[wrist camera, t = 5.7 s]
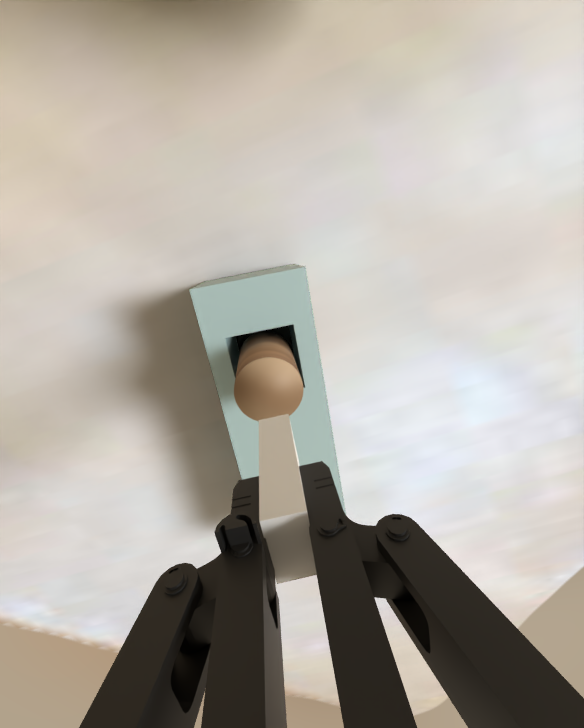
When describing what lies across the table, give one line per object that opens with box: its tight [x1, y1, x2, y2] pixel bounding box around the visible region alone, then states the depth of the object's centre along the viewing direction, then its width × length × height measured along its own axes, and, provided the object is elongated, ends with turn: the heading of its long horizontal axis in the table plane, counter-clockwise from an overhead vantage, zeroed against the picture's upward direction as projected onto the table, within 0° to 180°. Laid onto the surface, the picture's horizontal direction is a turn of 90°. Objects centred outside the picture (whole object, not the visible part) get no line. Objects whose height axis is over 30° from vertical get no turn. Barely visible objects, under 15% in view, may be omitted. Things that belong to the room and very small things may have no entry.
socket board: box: [189, 264, 346, 515], centre depth 34 cm, size 28×9×8 cm, turn 11°
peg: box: [234, 331, 304, 421], centre depth 26 cm, size 5×5×8 cm
